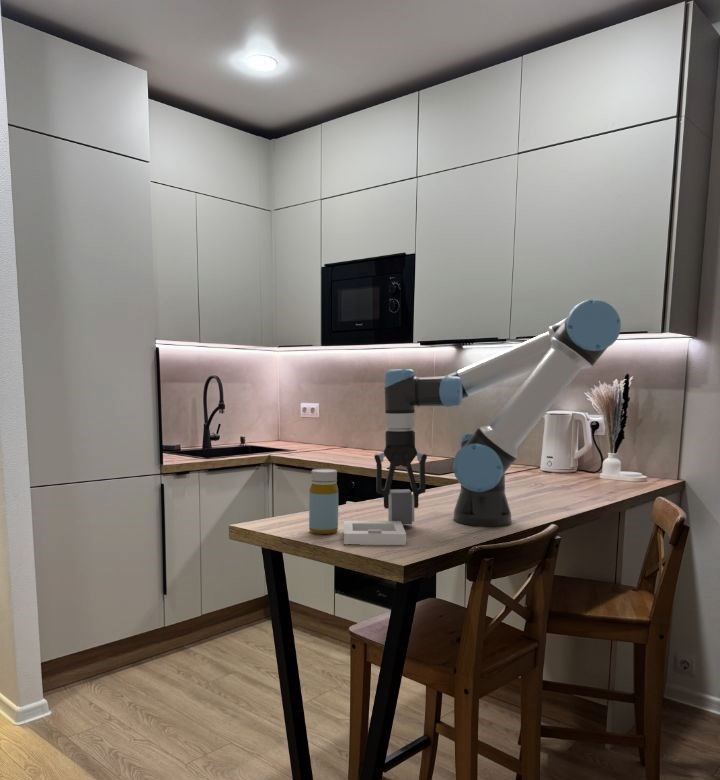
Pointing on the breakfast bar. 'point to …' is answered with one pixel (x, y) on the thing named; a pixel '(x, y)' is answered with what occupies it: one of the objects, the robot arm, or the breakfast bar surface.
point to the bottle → (323, 502)
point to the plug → (402, 505)
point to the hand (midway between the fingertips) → (401, 520)
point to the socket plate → (374, 533)
